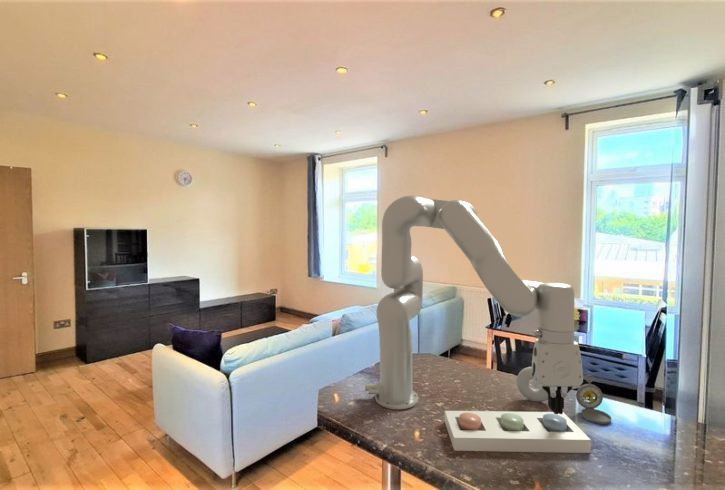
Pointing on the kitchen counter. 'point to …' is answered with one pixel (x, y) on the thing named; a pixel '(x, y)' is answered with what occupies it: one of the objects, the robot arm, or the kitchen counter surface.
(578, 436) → the console
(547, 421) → the slate button
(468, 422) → the terracotta button
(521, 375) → the donut
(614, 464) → the kitchen counter surface
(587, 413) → the pocket watch
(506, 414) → the sage button
